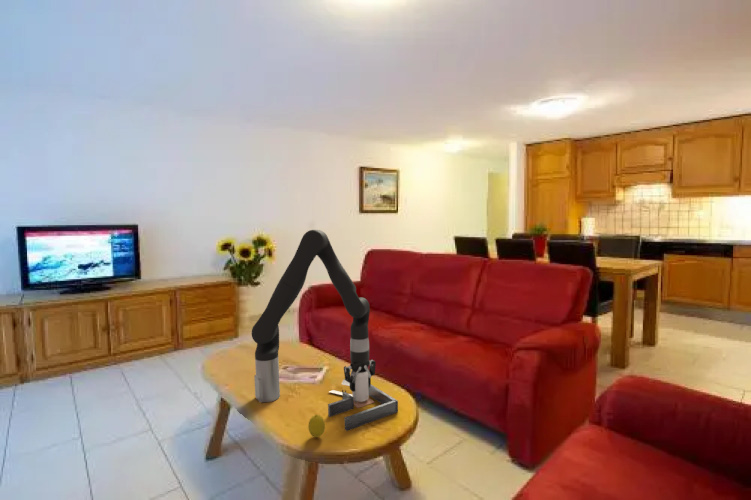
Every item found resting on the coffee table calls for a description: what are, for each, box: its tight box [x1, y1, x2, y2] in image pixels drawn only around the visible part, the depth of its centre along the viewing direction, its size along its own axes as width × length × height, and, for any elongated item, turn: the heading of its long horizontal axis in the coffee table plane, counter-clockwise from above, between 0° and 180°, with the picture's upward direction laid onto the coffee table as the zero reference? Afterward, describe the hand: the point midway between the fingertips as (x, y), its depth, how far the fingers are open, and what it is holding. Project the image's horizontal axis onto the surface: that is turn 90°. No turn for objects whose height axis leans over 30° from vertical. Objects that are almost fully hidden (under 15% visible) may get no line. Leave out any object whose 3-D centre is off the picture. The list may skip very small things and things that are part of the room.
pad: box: [354, 397, 376, 409], centre depth 162 cm, size 8×8×1 cm
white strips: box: [328, 378, 353, 397], centre depth 173 cm, size 12×12×2 cm
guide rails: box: [327, 383, 399, 432], centre depth 154 cm, size 23×19×4 cm
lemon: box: [307, 414, 326, 438], centre depth 136 cm, size 6×6×8 cm
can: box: [351, 371, 370, 402], centre depth 162 cm, size 6×6×12 cm
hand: (360, 388), depth 162 cm, fingers closed on can, 6 cm apart
